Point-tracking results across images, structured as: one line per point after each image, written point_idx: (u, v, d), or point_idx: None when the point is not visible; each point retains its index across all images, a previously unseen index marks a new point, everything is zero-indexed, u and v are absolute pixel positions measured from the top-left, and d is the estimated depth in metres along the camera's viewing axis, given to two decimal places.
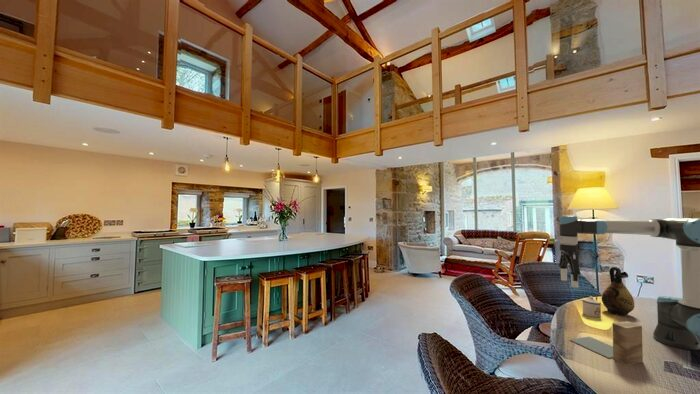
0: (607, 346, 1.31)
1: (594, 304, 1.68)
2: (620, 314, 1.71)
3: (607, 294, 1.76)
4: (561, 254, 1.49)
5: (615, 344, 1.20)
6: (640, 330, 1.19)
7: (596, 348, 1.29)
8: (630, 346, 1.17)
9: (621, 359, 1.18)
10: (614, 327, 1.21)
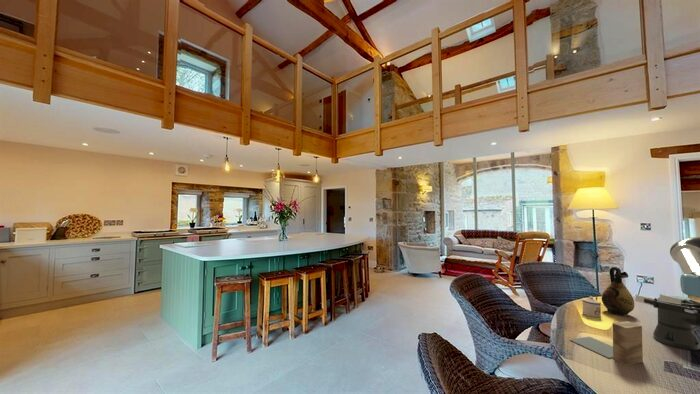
0: (607, 346, 1.31)
1: (594, 304, 1.68)
2: (620, 314, 1.71)
3: (607, 294, 1.76)
4: (686, 313, 0.98)
5: (615, 344, 1.20)
6: (640, 330, 1.19)
7: (596, 348, 1.29)
8: (630, 346, 1.17)
9: (621, 359, 1.18)
10: (614, 327, 1.21)
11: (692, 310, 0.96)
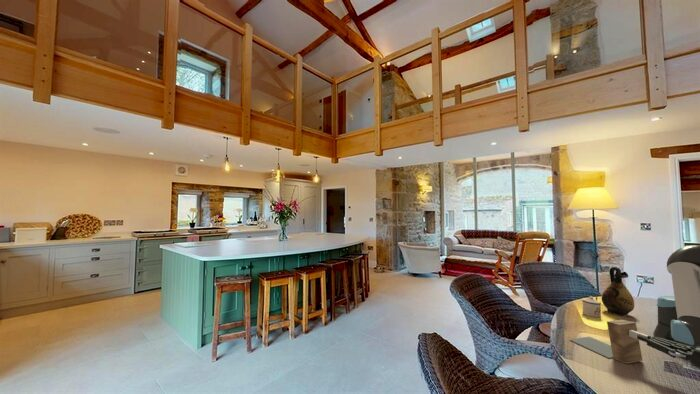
0: (607, 346, 1.31)
1: (594, 304, 1.68)
2: (620, 314, 1.71)
3: (607, 294, 1.76)
4: None
5: (613, 343, 1.21)
6: (635, 327, 1.21)
7: (596, 348, 1.29)
8: (627, 343, 1.18)
9: (620, 358, 1.18)
10: (609, 325, 1.23)
11: (672, 352, 1.01)
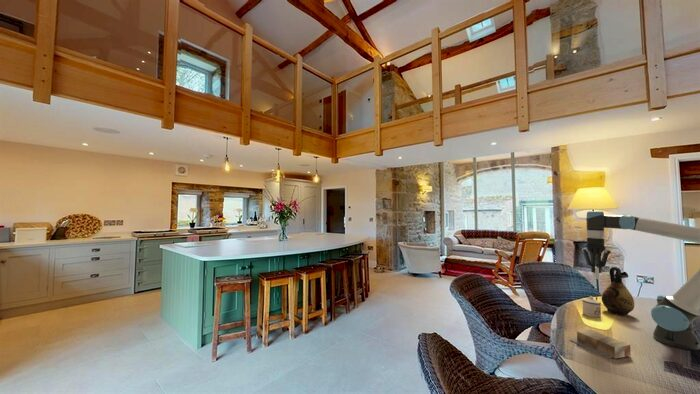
0: None
1: (594, 304, 1.68)
2: (620, 314, 1.71)
3: (607, 294, 1.76)
4: None
5: (597, 348, 1.27)
6: (594, 331, 1.36)
7: None
8: (598, 338, 1.28)
9: (611, 350, 1.21)
10: (580, 341, 1.34)
11: None
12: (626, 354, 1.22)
